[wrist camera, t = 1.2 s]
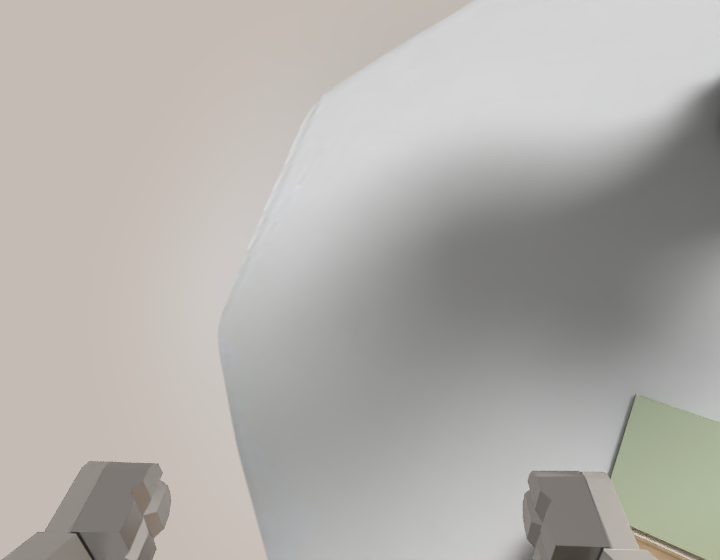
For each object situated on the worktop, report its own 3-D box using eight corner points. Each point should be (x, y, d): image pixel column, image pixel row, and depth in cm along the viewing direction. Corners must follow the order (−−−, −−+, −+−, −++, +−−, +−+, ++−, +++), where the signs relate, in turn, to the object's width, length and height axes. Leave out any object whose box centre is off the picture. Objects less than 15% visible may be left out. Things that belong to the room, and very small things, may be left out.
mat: (635, 395, 43) (636, 394, 42) (781, 444, 38) (784, 444, 38) (600, 511, 42) (600, 512, 41) (745, 576, 37) (747, 578, 37)
